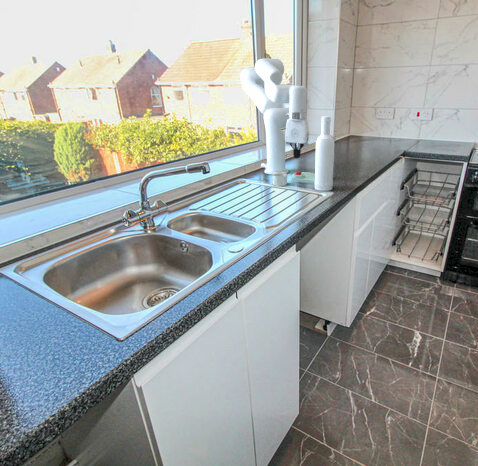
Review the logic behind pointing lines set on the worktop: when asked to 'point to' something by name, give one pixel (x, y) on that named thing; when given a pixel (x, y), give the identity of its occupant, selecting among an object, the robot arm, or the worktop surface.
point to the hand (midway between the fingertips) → (296, 157)
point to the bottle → (324, 157)
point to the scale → (304, 177)
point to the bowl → (280, 179)
